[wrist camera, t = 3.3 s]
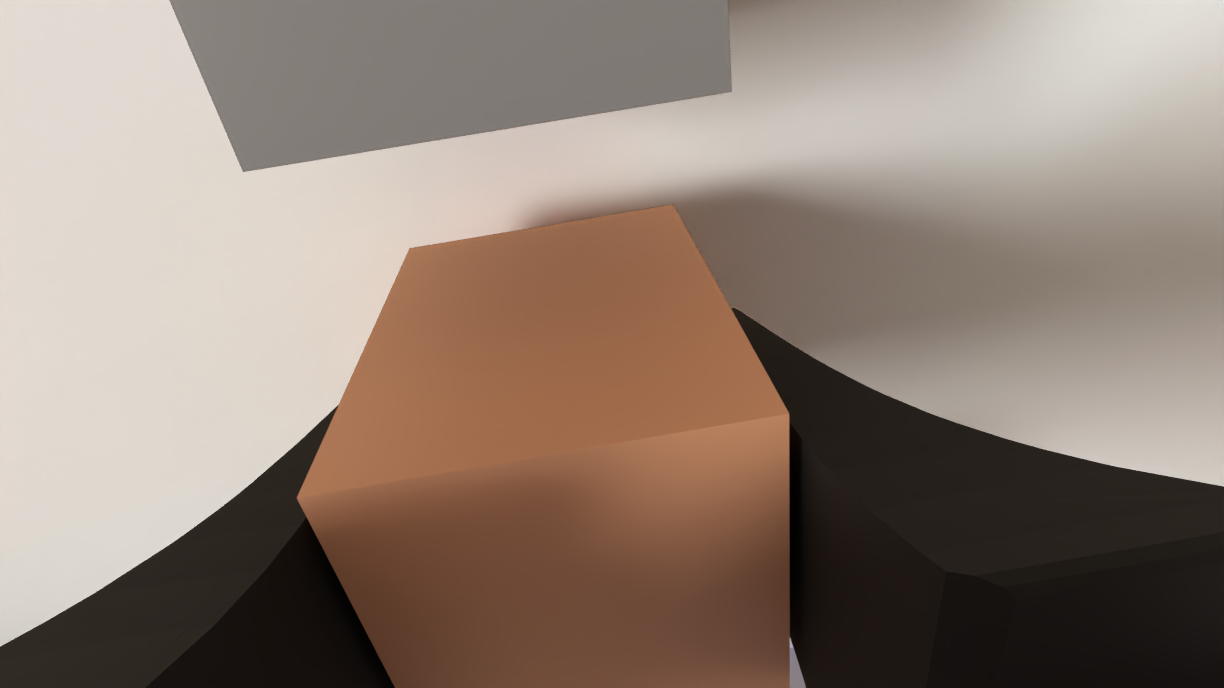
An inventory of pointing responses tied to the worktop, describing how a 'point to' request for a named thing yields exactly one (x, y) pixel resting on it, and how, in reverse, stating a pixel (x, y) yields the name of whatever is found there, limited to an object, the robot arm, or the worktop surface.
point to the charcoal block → (440, 67)
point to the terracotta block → (561, 469)
